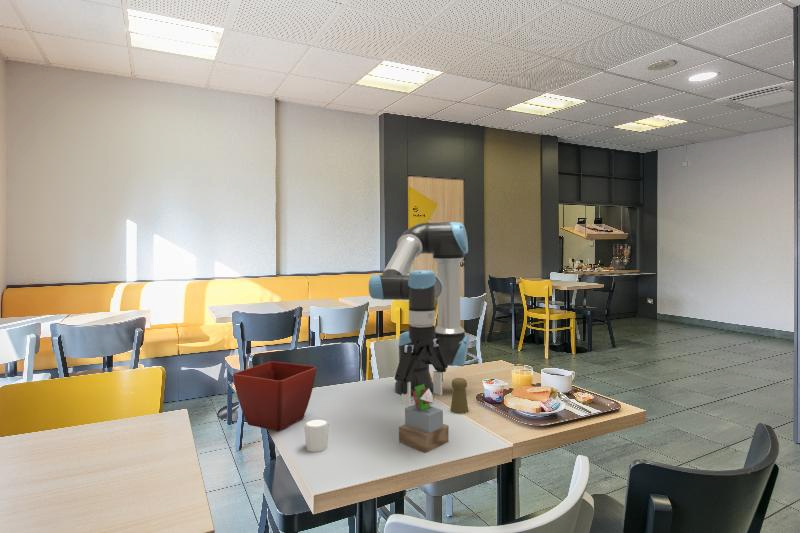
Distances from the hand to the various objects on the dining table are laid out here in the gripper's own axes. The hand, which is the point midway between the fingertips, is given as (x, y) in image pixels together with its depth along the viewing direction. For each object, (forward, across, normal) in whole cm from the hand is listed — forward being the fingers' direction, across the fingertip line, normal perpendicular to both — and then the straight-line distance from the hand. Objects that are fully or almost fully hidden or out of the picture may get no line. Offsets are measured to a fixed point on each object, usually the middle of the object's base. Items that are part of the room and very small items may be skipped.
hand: (422, 399), depth 137 cm
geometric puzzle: (+3, 0, 0) cm, 3 cm away
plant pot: (+12, -20, +45) cm, 50 cm away
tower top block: (+8, 0, -1) cm, 8 cm away
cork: (+12, +28, +8) cm, 32 cm away
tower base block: (+13, 0, 0) cm, 13 cm away
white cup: (+12, -23, +19) cm, 32 cm away
